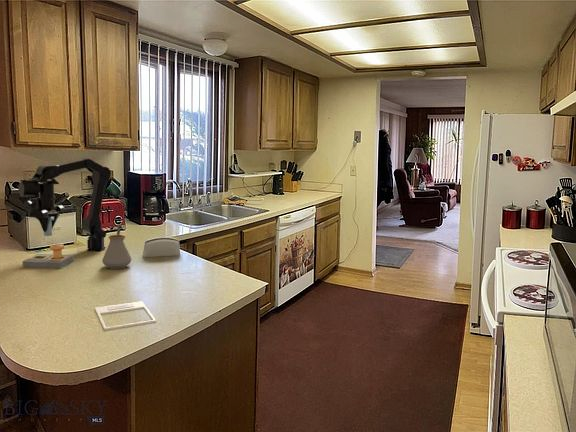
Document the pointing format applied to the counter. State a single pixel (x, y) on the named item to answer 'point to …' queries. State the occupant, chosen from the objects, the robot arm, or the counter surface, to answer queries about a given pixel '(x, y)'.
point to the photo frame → (122, 308)
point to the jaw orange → (57, 250)
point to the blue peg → (49, 228)
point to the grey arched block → (161, 247)
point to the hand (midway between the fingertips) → (47, 230)
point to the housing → (47, 261)
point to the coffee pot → (116, 252)
